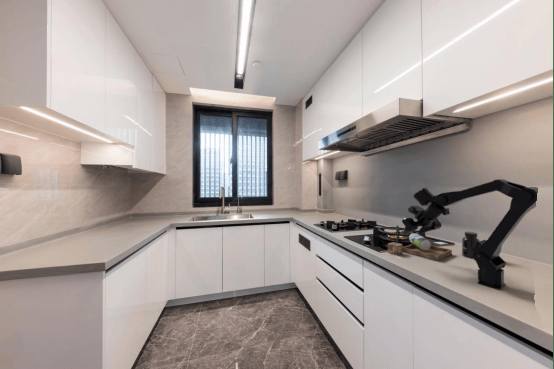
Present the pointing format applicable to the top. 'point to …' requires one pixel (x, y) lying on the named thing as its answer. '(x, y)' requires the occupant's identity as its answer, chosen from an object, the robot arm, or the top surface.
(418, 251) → the tray
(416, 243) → the beverage can
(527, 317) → the top surface
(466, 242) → the supplement bottle
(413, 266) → the top surface
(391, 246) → the letter block
